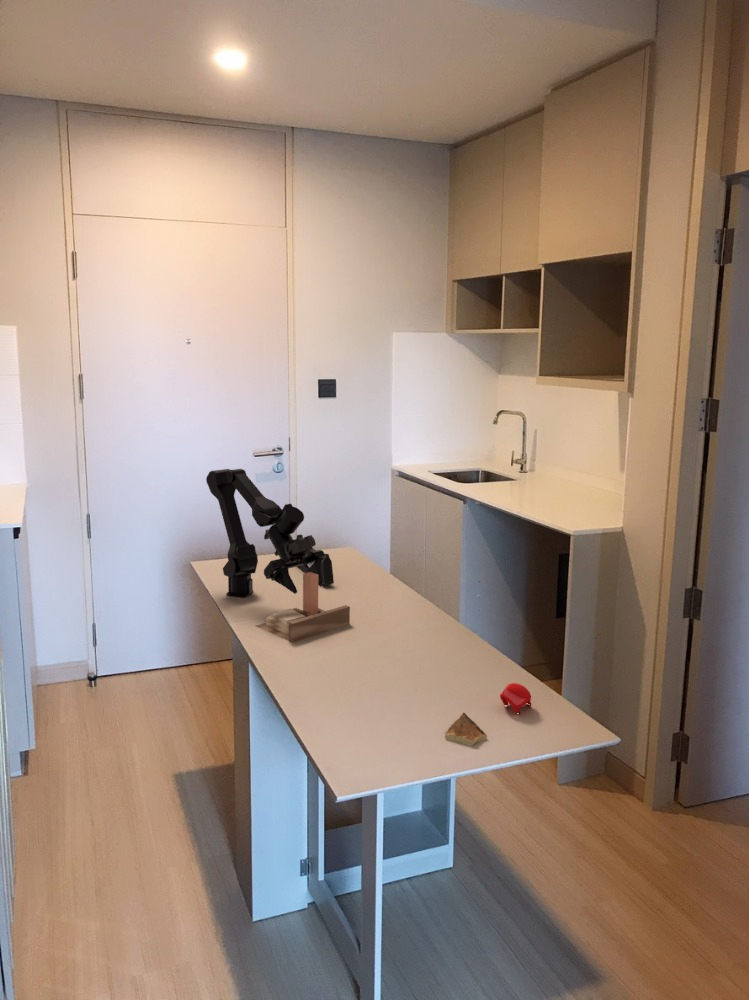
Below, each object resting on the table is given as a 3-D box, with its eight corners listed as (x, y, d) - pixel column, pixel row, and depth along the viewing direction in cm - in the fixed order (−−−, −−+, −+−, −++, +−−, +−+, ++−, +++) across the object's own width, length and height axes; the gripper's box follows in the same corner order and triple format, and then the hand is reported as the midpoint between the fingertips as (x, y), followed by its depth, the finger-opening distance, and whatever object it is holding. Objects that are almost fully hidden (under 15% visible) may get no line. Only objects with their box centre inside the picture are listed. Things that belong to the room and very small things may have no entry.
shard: (463, 718, 169) (463, 710, 169) (497, 727, 166) (498, 719, 165) (442, 740, 160) (443, 732, 159) (478, 750, 156) (479, 742, 156)
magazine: (337, 562, 250) (304, 515, 273) (327, 563, 248) (295, 516, 272) (330, 607, 257) (299, 558, 281) (321, 608, 256) (290, 559, 279)
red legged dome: (513, 706, 167) (535, 689, 168) (495, 688, 171) (516, 671, 172) (518, 724, 173) (539, 707, 174) (500, 706, 177) (521, 689, 178)
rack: (255, 629, 216) (255, 608, 215) (311, 612, 230) (311, 592, 229) (292, 646, 205) (292, 623, 204) (349, 627, 219) (349, 606, 218)
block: (302, 618, 222) (303, 573, 220) (309, 616, 224) (310, 571, 221) (311, 621, 220) (311, 576, 217) (318, 619, 222) (318, 574, 219)
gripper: (269, 532, 215) (296, 580, 209) (321, 522, 228) (348, 567, 222) (252, 554, 222) (277, 602, 216) (304, 543, 235) (329, 588, 229)
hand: (309, 589), depth 221 cm, fingers open, 9 cm apart
